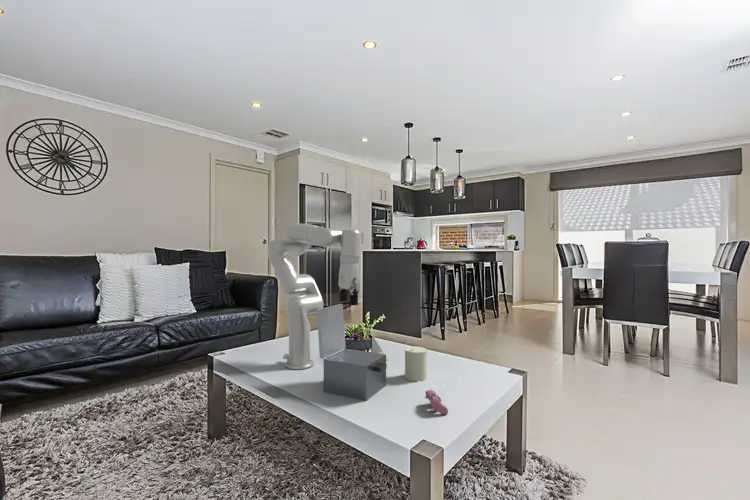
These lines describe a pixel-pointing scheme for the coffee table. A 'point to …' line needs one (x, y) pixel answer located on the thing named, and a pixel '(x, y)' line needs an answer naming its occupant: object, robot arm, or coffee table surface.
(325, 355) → the lid
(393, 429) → the coffee table surface
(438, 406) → the pink toy animal
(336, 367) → the grey storage box
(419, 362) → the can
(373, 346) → the sandwich container
